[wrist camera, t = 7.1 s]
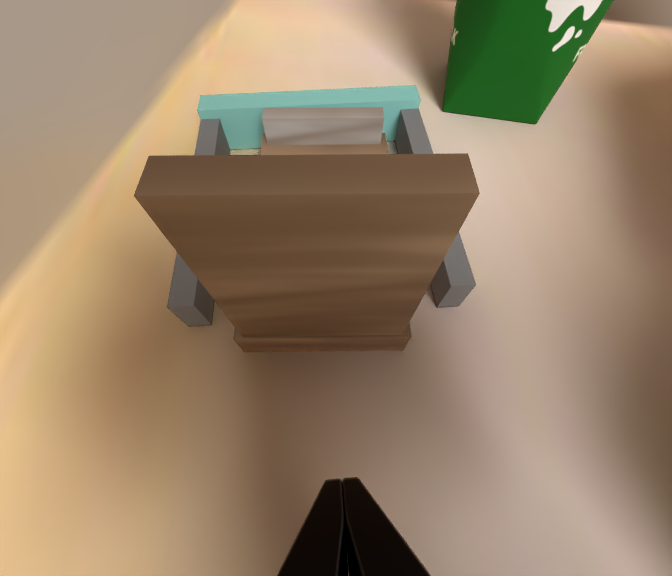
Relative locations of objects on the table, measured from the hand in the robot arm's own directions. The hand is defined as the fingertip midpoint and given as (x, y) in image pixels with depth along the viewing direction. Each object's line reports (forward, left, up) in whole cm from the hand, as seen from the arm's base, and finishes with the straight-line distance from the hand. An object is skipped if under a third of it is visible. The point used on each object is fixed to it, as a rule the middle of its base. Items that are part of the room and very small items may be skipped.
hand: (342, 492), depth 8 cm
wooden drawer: (+1, -13, -7) cm, 14 cm away
